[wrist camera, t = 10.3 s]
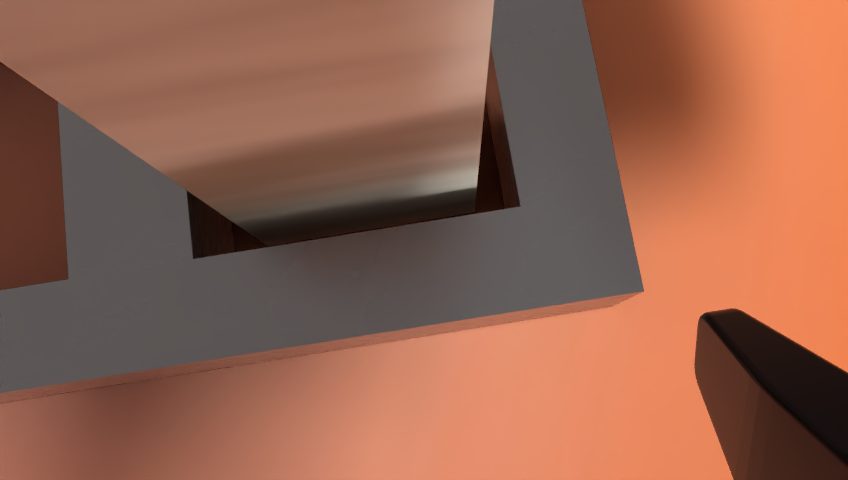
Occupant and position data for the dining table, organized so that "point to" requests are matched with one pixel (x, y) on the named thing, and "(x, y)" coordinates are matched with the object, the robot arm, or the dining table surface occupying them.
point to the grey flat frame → (333, 244)
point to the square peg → (276, 100)
